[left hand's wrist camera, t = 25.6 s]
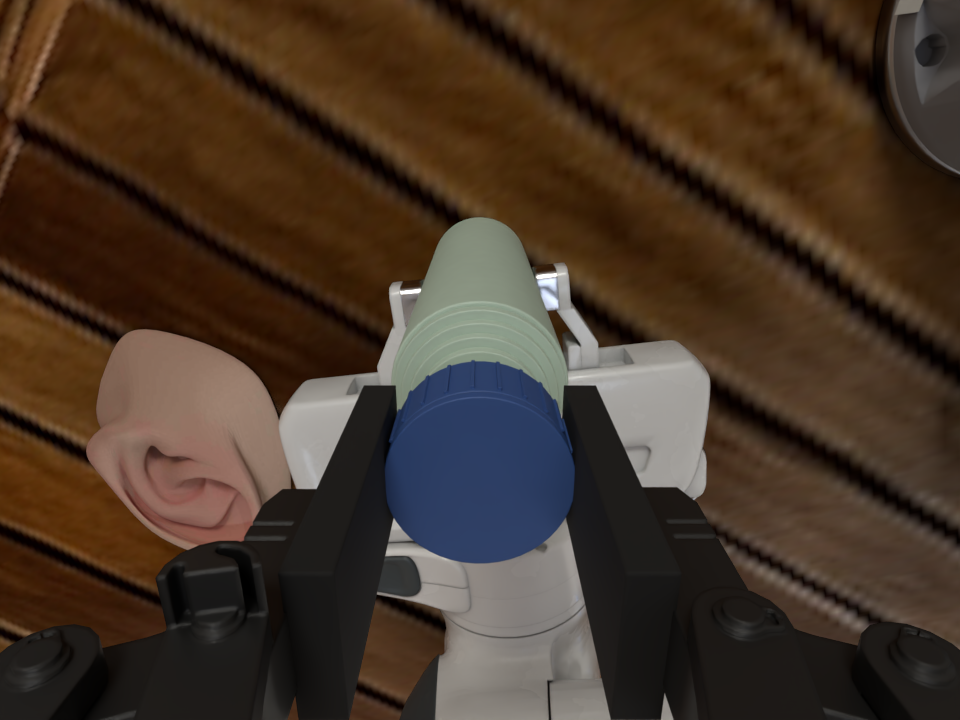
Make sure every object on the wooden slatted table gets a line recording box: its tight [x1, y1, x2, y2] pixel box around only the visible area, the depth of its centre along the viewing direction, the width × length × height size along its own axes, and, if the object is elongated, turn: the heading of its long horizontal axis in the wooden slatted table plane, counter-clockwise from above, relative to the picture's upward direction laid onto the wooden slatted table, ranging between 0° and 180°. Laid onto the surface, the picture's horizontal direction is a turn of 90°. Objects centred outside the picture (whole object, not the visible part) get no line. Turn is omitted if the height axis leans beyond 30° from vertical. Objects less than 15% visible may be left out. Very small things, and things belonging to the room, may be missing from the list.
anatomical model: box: [86, 329, 291, 550], centre depth 36 cm, size 13×4×12 cm
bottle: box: [391, 217, 568, 414], centre depth 24 cm, size 5×5×22 cm
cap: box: [385, 360, 575, 564], centre depth 14 cm, size 4×4×2 cm
